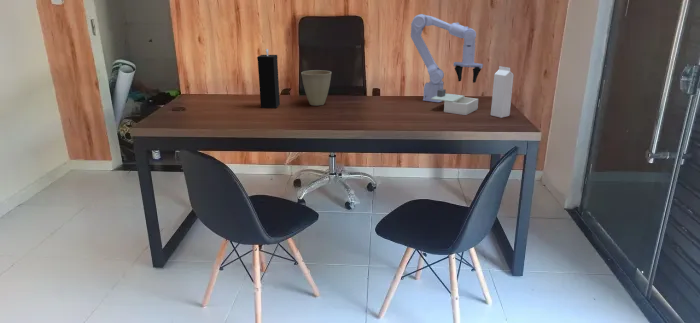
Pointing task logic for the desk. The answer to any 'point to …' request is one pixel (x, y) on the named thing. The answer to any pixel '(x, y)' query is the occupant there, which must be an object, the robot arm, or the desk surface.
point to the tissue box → (268, 80)
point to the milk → (502, 92)
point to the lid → (446, 96)
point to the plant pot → (316, 85)
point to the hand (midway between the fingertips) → (467, 81)
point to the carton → (461, 106)
